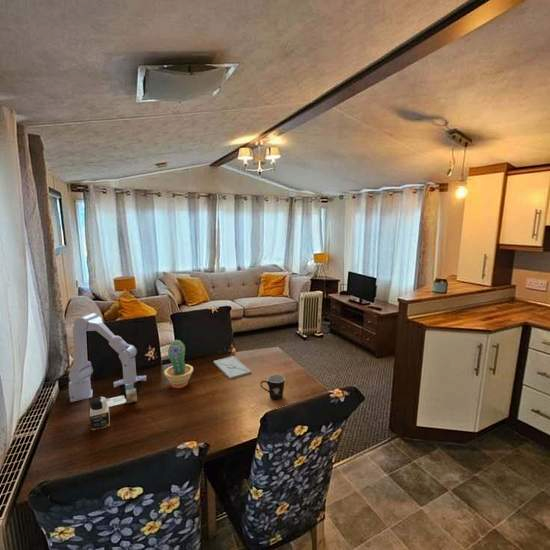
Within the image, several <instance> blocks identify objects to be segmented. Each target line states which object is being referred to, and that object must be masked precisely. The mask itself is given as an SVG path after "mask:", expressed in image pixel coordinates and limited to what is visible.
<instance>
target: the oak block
mask: <svg viewBox="0 0 550 550" xmlns="http://www.w3.org/2000/svg"><path fill="white" fill-rule="evenodd" d="M126 397H127V399H126V404H129V403H130V404H131V403H133V402H138V396H137V392H136V387H134V389H130V390H126Z"/></svg>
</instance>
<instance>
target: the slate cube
mask: <svg viewBox="0 0 550 550" xmlns="http://www.w3.org/2000/svg"><path fill="white" fill-rule="evenodd" d="M134 385H135V384H134V383H133V384H130V385H129V384H125V389H126V390H130V389H134V388H135V387H134Z"/></svg>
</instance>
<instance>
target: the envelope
mask: <svg viewBox="0 0 550 550" xmlns="http://www.w3.org/2000/svg"><path fill="white" fill-rule="evenodd" d="M213 365H215V366H216V368H218V369H219V371H221V372H222V374H223V375H225V376H226V377H227V378H228V379H229V380H233V379H235V378H236V379H237V378H241V377H242V376H243V377H244V376H247V375H250V374H252V370H250V369H249V368H248V367H247V366H246V365H245V364H243V363H242V362H241V361H240V360H239V359H237V358H236V357H235V356H234V355H233V356H228V357H224V358H220V359H217V360H213Z"/></svg>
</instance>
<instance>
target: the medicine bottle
mask: <svg viewBox="0 0 550 550" xmlns="http://www.w3.org/2000/svg"><path fill="white" fill-rule="evenodd" d="M106 399H107V398H106V397H105V396H96V397H95V398H92V400H91V401H90V402H89V403H90V408H89V409H90V410H89V423H90V424H89V425H90V430H93V431H96V429H97V430H101V429H104V428H108V427H110V426H111V425H110V424H111V422H110V421H111V420H110V417H111V415H110V407H109V404H107V402H106ZM107 426H108V427H107ZM100 428H101V429H100Z"/></svg>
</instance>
